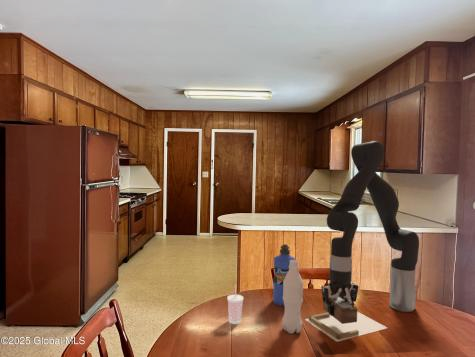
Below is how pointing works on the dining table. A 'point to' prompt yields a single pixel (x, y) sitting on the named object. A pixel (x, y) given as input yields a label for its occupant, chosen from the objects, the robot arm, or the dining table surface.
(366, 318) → the wall board
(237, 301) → the beverage cup
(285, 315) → the water bottle
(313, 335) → the dining table surface
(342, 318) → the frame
